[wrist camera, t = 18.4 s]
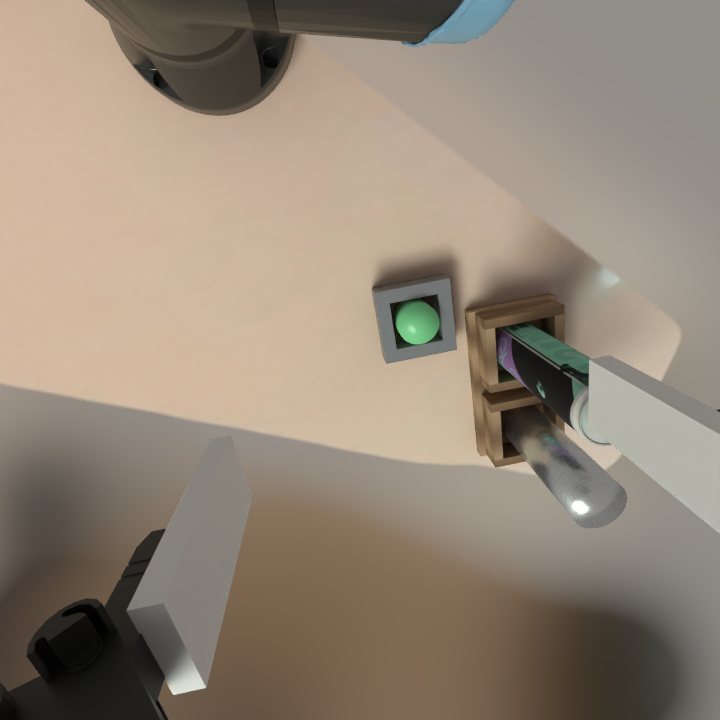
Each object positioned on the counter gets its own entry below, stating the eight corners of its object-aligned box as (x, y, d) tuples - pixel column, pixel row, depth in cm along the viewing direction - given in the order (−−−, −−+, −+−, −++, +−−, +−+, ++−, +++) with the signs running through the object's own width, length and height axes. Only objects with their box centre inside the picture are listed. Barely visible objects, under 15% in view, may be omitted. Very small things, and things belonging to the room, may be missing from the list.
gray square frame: (371, 288, 45) (374, 293, 43) (443, 274, 45) (449, 278, 43) (383, 356, 48) (386, 363, 45) (450, 342, 48) (456, 349, 46)
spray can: (480, 346, 47) (583, 437, 28) (515, 310, 46) (647, 380, 27) (510, 374, 49) (628, 478, 30) (545, 339, 47) (690, 426, 29)
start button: (390, 302, 45) (395, 308, 42) (429, 294, 45) (436, 300, 42) (396, 339, 47) (401, 348, 44) (434, 332, 47) (441, 340, 44)
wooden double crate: (464, 310, 47) (477, 319, 43) (550, 293, 47) (571, 301, 43) (477, 451, 53) (489, 470, 49) (552, 435, 54) (570, 453, 50)
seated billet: (496, 404, 50) (571, 487, 35) (536, 395, 50) (628, 476, 35) (499, 439, 52) (571, 533, 37) (537, 431, 52) (625, 521, 37)
